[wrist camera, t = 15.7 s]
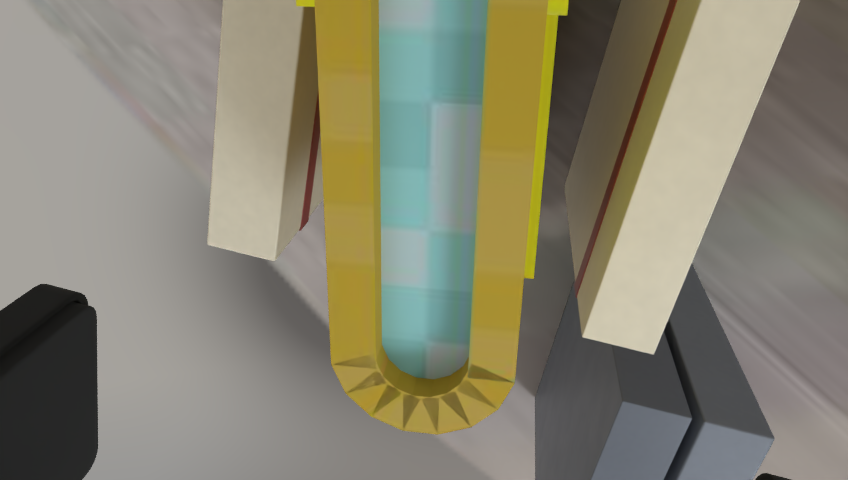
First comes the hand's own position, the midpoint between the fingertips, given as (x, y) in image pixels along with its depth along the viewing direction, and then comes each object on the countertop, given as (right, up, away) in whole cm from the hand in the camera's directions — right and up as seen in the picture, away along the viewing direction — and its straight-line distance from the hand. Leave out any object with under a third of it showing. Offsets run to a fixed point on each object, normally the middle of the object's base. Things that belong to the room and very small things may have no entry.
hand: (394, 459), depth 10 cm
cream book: (+12, +13, +31) cm, 36 cm away
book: (+4, +15, +32) cm, 35 cm away
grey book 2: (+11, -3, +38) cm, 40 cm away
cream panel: (-3, +17, +32) cm, 36 cm away
